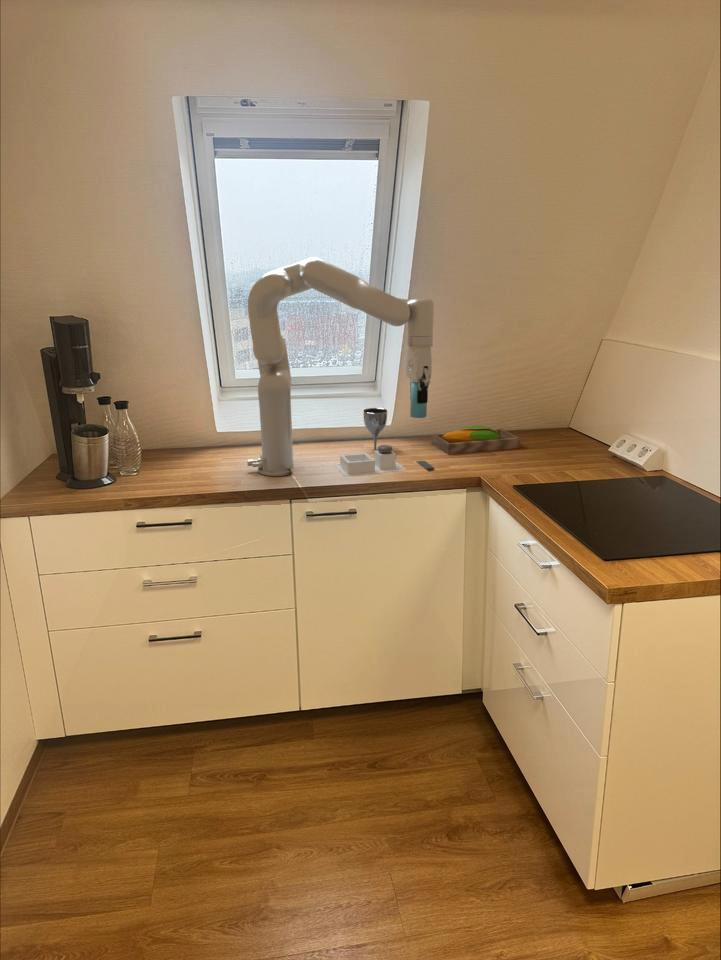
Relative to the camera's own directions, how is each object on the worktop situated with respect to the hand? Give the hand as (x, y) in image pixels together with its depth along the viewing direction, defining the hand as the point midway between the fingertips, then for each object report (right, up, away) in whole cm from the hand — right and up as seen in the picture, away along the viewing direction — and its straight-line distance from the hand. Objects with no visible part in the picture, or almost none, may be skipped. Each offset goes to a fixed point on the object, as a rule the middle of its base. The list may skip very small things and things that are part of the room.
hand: (418, 400), depth 206 cm
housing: (-15, -22, +3) cm, 27 cm away
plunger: (-10, -20, +3) cm, 22 cm away
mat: (0, -20, +7) cm, 22 cm away
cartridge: (0, -5, +2) cm, 5 cm away
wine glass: (-13, -16, +22) cm, 30 cm away
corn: (+21, -13, +30) cm, 39 cm away
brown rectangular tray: (+23, -12, +31) cm, 41 cm away
